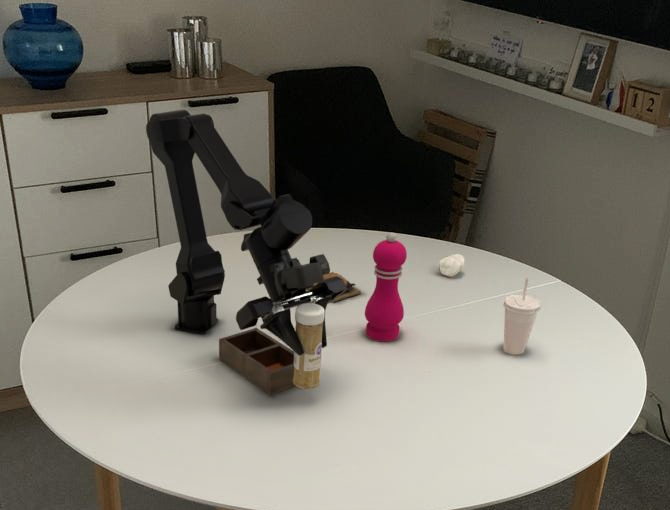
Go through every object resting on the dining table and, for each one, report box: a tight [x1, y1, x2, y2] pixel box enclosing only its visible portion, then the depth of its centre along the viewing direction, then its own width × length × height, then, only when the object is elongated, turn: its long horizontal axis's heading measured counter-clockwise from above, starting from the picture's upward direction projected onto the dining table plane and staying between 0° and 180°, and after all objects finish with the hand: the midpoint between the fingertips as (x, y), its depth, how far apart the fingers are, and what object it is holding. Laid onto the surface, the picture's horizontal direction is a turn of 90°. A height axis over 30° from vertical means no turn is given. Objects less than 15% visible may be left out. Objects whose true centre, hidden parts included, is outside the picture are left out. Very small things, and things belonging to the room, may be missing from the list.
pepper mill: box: [364, 232, 408, 342], centre depth 162 cm, size 7×7×20 cm
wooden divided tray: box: [218, 327, 296, 396], centre depth 154 cm, size 15×8×4 cm, turn 35°
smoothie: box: [502, 276, 542, 356], centre depth 158 cm, size 6×6×14 cm
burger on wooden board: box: [306, 271, 362, 303], centre depth 183 cm, size 11×8×4 cm
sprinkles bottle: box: [293, 303, 326, 390], centre depth 141 cm, size 5×5×13 cm
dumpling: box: [438, 253, 466, 277], centre depth 192 cm, size 7×5×4 cm
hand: (313, 350), depth 140 cm, fingers closed on sprinkles bottle, 4 cm apart
